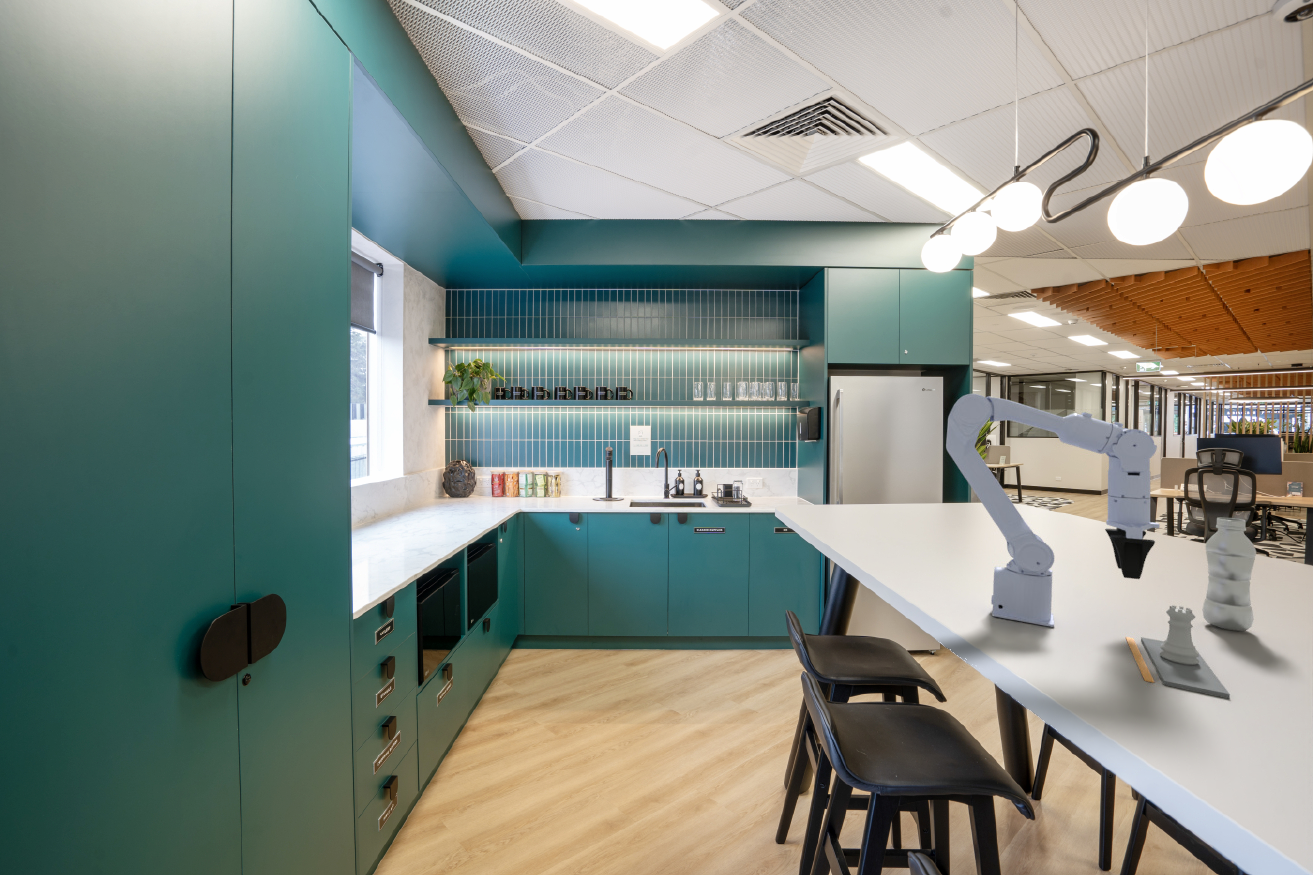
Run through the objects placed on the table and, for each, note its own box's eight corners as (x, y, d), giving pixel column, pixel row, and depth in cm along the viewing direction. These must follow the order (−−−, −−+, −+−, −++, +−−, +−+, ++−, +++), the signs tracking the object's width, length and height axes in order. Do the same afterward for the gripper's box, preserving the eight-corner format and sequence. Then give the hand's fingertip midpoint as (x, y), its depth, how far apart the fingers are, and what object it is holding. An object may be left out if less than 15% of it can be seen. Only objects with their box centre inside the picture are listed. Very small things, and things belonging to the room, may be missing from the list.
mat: (1163, 684, 77) (1163, 680, 77) (1140, 640, 93) (1141, 637, 93) (1229, 698, 73) (1229, 694, 73) (1193, 650, 89) (1193, 646, 89)
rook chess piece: (1207, 667, 81) (1209, 614, 81) (1171, 664, 82) (1173, 611, 82) (1185, 655, 86) (1187, 604, 85) (1152, 652, 87) (1153, 602, 86)
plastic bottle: (1237, 624, 102) (1241, 517, 102) (1263, 637, 96) (1267, 523, 95) (1193, 620, 104) (1197, 515, 104) (1216, 632, 98) (1220, 520, 98)
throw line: (1144, 680, 78) (1144, 679, 78) (1125, 638, 94) (1125, 636, 94) (1154, 682, 77) (1154, 681, 77) (1133, 639, 94) (1133, 638, 94)
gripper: (1167, 502, 89) (1166, 586, 89) (1151, 494, 101) (1151, 568, 101) (1110, 499, 93) (1110, 579, 93) (1102, 492, 105) (1102, 563, 105)
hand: (1128, 573), depth 97 cm, fingers open, 7 cm apart
